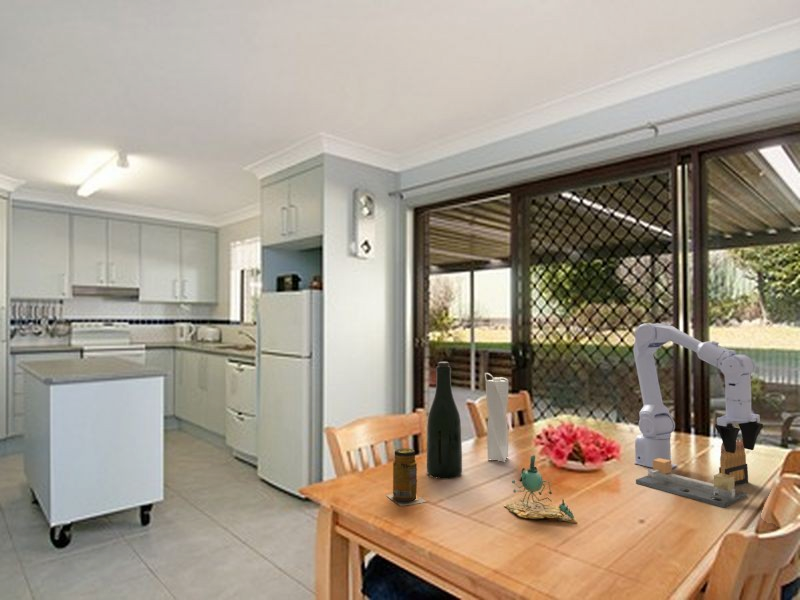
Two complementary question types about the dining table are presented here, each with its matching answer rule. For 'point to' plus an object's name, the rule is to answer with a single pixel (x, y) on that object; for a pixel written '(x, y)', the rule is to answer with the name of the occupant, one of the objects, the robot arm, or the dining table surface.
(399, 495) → the condiment
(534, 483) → the green creature figurine
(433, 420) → the dark green wine bottle
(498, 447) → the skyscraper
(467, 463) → the dining table surface
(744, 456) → the ammunition clip
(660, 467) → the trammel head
